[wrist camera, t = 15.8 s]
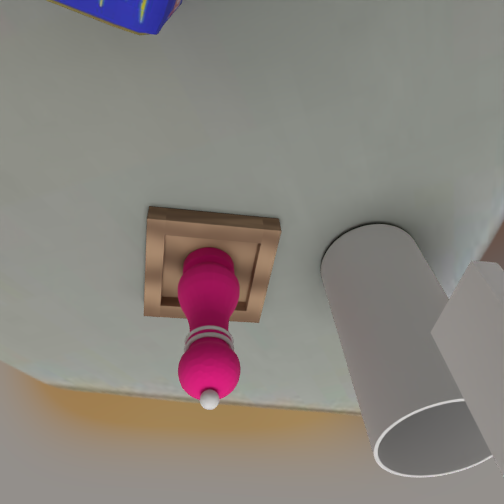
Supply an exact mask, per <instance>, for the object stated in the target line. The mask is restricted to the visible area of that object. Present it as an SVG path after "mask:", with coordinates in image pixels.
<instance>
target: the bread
mask: <svg viewBox="0 0 504 504" xmlns="http://www.w3.org/2000/svg"><path fill="white" fill-rule="evenodd" d="M47 1H49V2H52V3H55V4H57V5H60V6H62V7H65V8H67V9H70V10H73V11H75V12H78V13H80V14H83V15H85V16H88V17H91V18H93V19H96V20H98V21H101V22H103V23H106V24H108V25H111V26H114V27H116V28H119V29H122V30H125V31H128V32H131V33H134V34H137V35H146V34H158V33H159V31H160V30H161V28H162V26H163V25H164V23H165V22H166V21H167V20H168V19H169V18H170V16H171V15H172V14H173V13H174V12H175V11H176V9H177V8H178V7H179V6H180V5H181V3H182V0H47Z"/></svg>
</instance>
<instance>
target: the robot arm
mask: <svg viewBox="0 0 504 504" xmlns="http://www.w3.org/2000/svg"><path fill="white" fill-rule="evenodd" d="M430 333H431V335H432V337H433V339H434V340H435V342H436V344H437V346H438V348H439V350H440V352H441V354H442V356H443V358H444V360H445V362H446V364H447V366H448V368H449V370H450V372H451V374H452V376H453V378H454V380H455V382H456V384H457V386H458V388H459V390H460V392H461V394H462V396H463V398H464V400H465V402H466V404H467V406H468V408H469V410H470V412H471V414H472V416H473V418H474V420H475V422H476V424H477V426H478V428H479V430H480V432H481V434H482V436H483V438H484V440H485V442H486V444H487V446H488V448H489V450H490V452H491V454H492V456H493V458H494V460H495V462H496V463H497V465H498V467H499V469H500V471H501V473H502V475H503V477H504V271H503V269H502V268H501V267H500V266H499V264H498V263H493V262H481V261H471V262H470V264H469V265H468V267H467V269H466V271H465V272H464V274H463V276H462V278H461V279H460V281H459V283H458V285H457V287H456V288H455V290H454V292H453V294H452V295H451V297H450V299H449V301H448V302H447V304H446V306H445V308H444V309H443V311H442V313H441V315H440V316H439V318H438V320H437V322H436V323H435V325H434V327H433V329H432V331H431V332H430Z"/></svg>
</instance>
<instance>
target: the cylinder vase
mask: <svg viewBox="0 0 504 504" xmlns="http://www.w3.org/2000/svg"><path fill="white" fill-rule="evenodd" d="M321 277H322V281H323V284H324V288H325V291H326V294H327V298H328V301H329V305H330V308H331V311H332V315H333V318H334V322H335V325H336V328H337V332H338V335H339V339H340V342H341V345H342V349H343V352H344V356H345V359H346V362H347V366H348V369H349V373H350V376H351V379H352V383H353V386H354V390H355V393H356V396H357V400H358V403H359V407H360V410H361V413H362V417H363V420H364V424H365V427H366V430H367V434H368V437H369V440H370V444H371V447H372V451H373V454H374V458H375V460H376V462H377V463H378V465H379V466H381V467H382V468H383V469H385V470H386V471H388V472H391V473H393V474H396V475H401V476H406V477H434V476H440V475H446V474H450V473H455V472H458V471H462V470H465V469H468V468H470V467H473V466H475V465H478V464H480V463H482V462H484V461H486V460H488V459H489V458H491V457H493V456H492V454H491V452H490V450H489V448H488V446H487V444H486V442H485V440H484V438H483V436H482V434H481V432H480V430H479V428H478V426H477V424H476V422H475V420H474V418H473V416H472V414H471V412H470V410H469V408H468V406H467V404H466V402H465V400H464V398H463V396H462V394H461V392H460V390H459V388H458V386H457V384H456V382H455V380H454V378H453V376H452V374H451V372H450V370H449V368H448V366H447V364H446V362H445V360H444V358H443V356H442V354H441V352H440V350H439V348H438V346H437V344H436V342H435V340H434V339H433V337H432V335H431V333H430V332H431V331H432V329H433V327H434V325H435V323H436V322H437V320H438V318H439V316H440V315H441V313H442V311H443V309H444V308H445V306H446V304H447V302H448V301H449V299H448V297H447V295H446V293H445V292H444V290H443V288H442V287H441V285H440V283H439V282H438V280H437V278H436V276H435V275H434V273H433V271H432V270H431V268H430V266H429V265H428V263H427V261H426V259H425V258H424V256H423V254H422V253H421V251H420V249H419V248H418V246H417V244H416V243H415V241H414V239H413V238H412V237H411V236H410V235H409V234H408V233H407V232H405V231H404V230H402V229H400V228H398V227H395V226H391V225H386V224H371V225H365V226H361V227H358V228H356V229H353V230H351V231H349V232H347V233H345V234H344V235H342V236H341V237H340V238H338V239H337V240H336V241H335V242H334V243H333V244H332V245H331V246H330V247H329V249H328V250H327V252H326V254H325V256H324V258H323V261H322V264H321Z"/></svg>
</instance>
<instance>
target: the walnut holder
mask: <svg viewBox="0 0 504 504" xmlns="http://www.w3.org/2000/svg"><path fill="white" fill-rule="evenodd" d="M280 235H281V227H280V222H279V219H276V218H266V217H255V216H245V215H234V214H224V213H213V212H203V211H193V210H182V209H172V208H161V207H151V206H149V211H148V216H147V236H146V266H145V295H144V316H153V317H170V318H187V317H186V316H185V314H184V312H183V310H182V309H181V306H180V303H179V300H178V283H179V280H180V278H181V276H182V275H183V264H184V261H185V259H186V257H187V256H188V255H189V254H190V253H192V252H193V251H195V250H197V249H200V248H205V247H212V248H217V249H220V250H222V251H224V252H226V253H227V254H228V255H229V256H230V257H231V259H232V261H233V263H234V274H235V276H236V277H237V279H238V281H239V286H240V295H239V300H238V303H237V306H236V308H235V310H234V312H233V313H232V315H231V316H230V319H229V321H238V322H255V323H259V320H260V316H261V312H262V308H263V304H264V300H265V296H266V292H267V288H268V284H269V279H270V275H271V271H272V267H273V263H274V259H275V255H276V251H277V247H278V243H279V239H280Z"/></svg>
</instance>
